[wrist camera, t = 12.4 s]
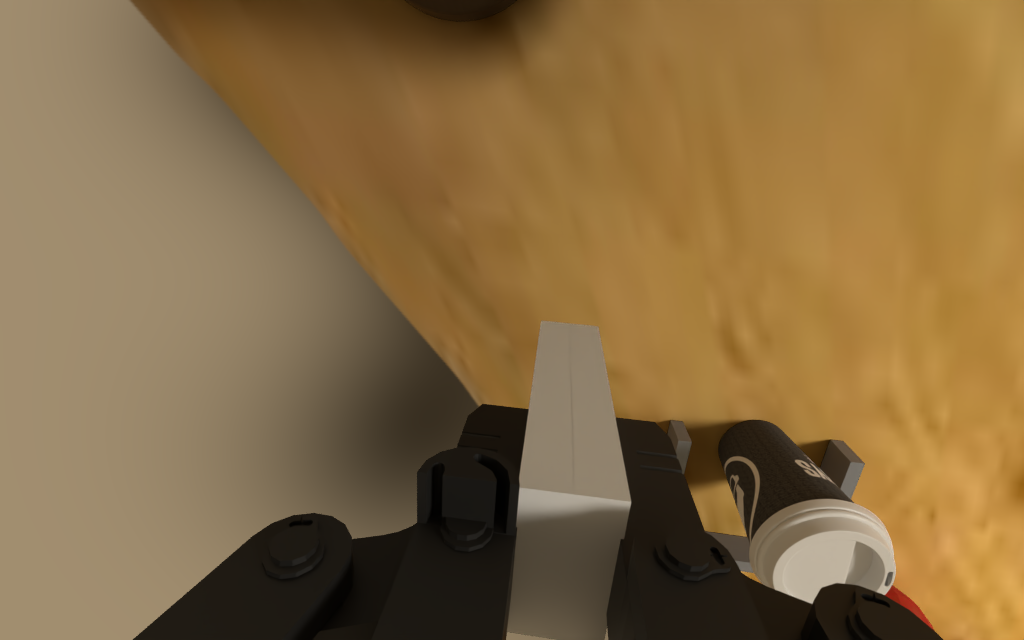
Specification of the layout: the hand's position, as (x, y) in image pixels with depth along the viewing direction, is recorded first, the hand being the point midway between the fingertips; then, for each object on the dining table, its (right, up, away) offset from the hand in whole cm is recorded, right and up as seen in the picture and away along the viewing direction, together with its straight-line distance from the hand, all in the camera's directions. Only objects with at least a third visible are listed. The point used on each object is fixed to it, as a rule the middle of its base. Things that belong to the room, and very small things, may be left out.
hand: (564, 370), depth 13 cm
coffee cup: (+23, -11, +34) cm, 42 cm away
